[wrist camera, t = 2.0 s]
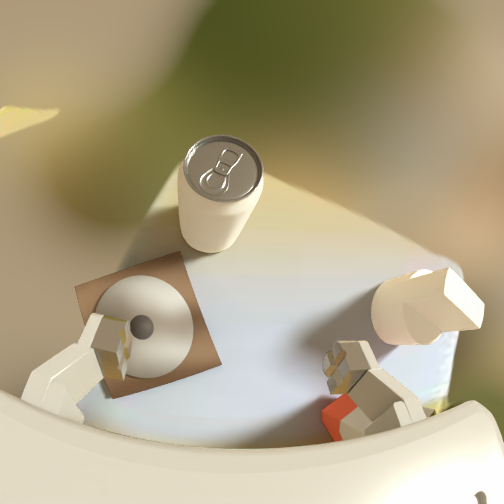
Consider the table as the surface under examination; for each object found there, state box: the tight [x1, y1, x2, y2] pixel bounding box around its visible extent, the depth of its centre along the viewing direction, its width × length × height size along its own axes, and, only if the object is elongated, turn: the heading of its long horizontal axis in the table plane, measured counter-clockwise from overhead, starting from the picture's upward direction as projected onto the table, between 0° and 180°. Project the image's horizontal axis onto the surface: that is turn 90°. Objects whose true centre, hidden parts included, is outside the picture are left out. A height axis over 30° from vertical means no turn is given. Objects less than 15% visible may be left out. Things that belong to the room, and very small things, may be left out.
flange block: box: [75, 251, 222, 399], centre depth 24 cm, size 12×12×2 cm
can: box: [178, 135, 264, 253], centre depth 24 cm, size 6×6×12 cm
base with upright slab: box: [371, 267, 484, 345], centre depth 26 cm, size 9×9×12 cm
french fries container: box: [322, 393, 436, 442], centre depth 18 cm, size 5×11×18 cm, turn 30°
